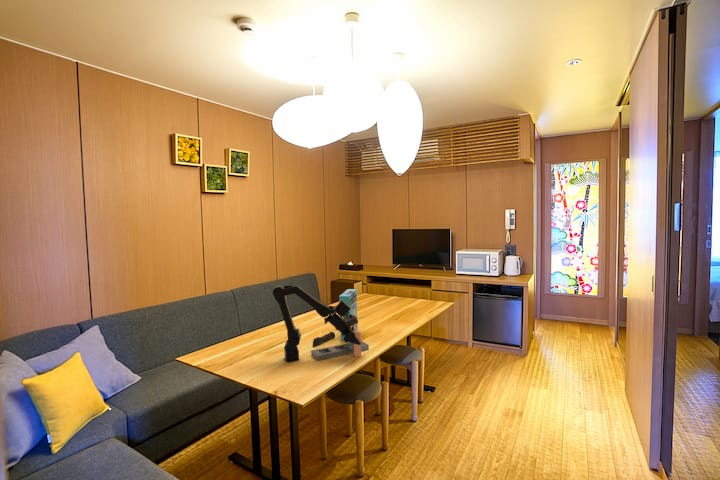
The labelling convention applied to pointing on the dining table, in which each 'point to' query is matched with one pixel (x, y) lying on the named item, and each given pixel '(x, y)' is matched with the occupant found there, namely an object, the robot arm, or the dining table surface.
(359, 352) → the peg
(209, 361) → the dining table surface
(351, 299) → the game box
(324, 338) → the hand tool
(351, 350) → the rail
